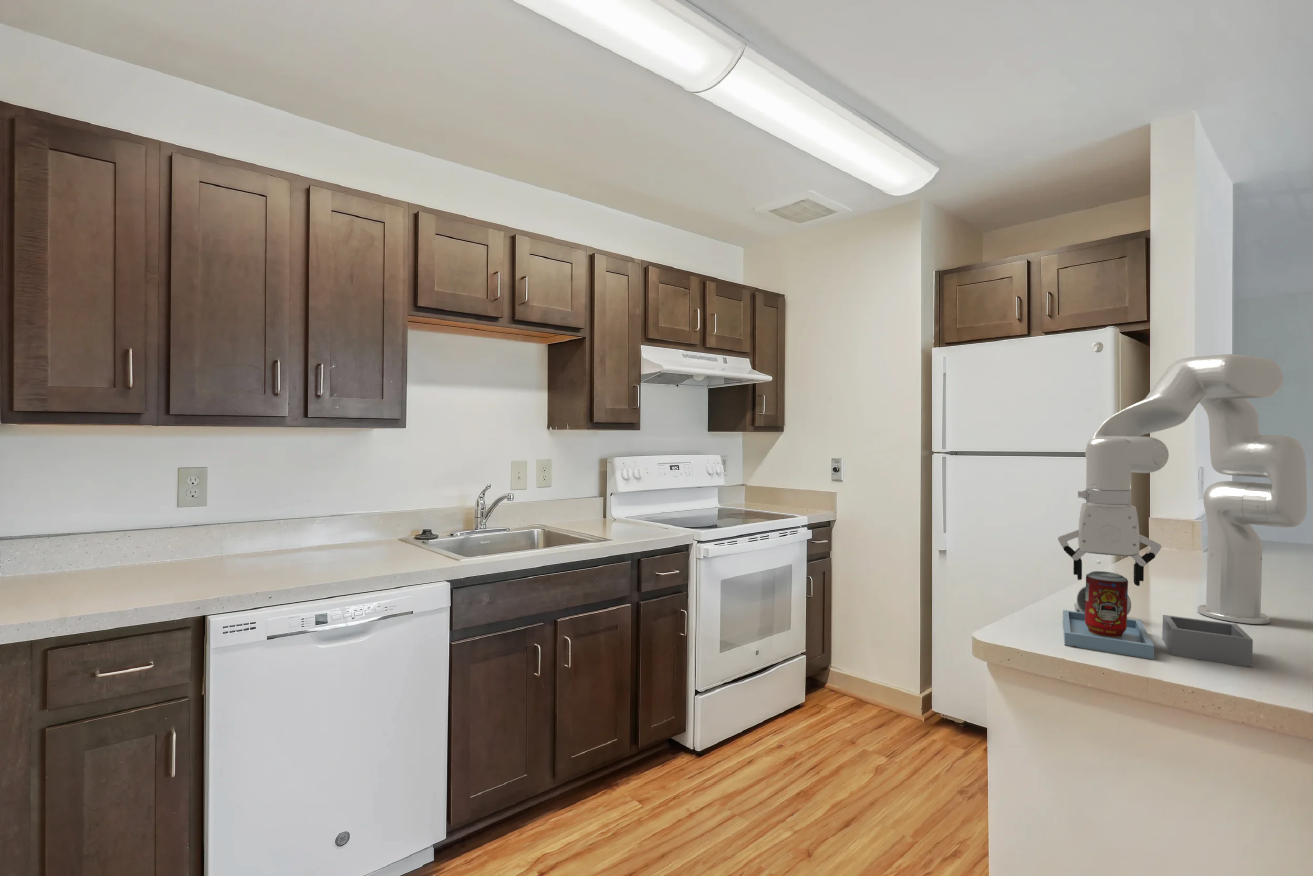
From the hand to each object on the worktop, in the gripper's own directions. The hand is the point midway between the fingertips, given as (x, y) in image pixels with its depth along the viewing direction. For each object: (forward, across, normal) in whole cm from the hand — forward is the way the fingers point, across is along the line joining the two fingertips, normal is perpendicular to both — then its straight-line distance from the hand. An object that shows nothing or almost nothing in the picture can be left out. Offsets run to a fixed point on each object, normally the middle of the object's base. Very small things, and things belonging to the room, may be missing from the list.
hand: (1107, 581), depth 132 cm
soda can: (+11, 0, -1) cm, 11 cm away
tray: (+12, -1, -1) cm, 12 cm away
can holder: (+12, +15, 0) cm, 19 cm away
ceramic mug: (+12, -1, +18) cm, 22 cm away
